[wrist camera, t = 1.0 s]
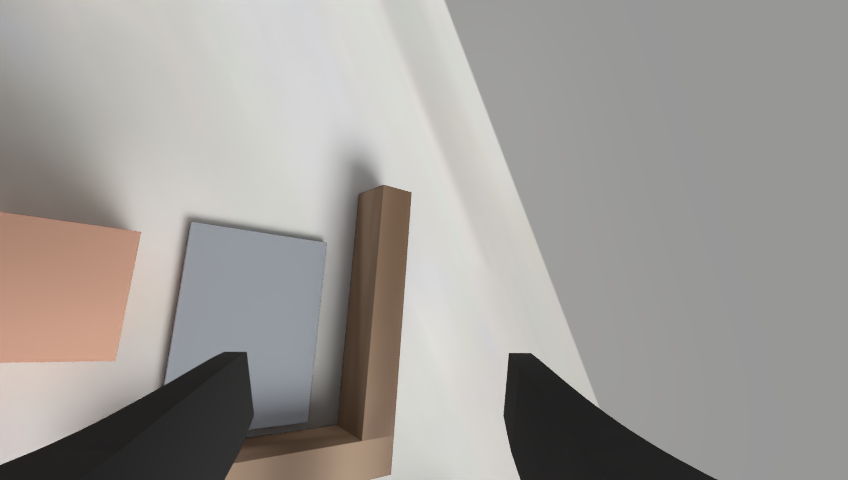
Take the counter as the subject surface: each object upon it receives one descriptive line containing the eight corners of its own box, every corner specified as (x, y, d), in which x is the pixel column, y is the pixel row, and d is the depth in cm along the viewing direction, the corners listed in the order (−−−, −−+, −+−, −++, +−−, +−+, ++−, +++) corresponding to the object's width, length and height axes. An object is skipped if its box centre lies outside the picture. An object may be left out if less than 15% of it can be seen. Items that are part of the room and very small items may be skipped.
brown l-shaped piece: (116, 505, 17) (115, 541, 14) (178, 149, 19) (186, 131, 17) (364, 455, 24) (390, 474, 22) (385, 200, 26) (411, 192, 24)
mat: (154, 439, 18) (155, 442, 17) (190, 222, 19) (191, 221, 19) (304, 420, 22) (307, 422, 22) (324, 243, 24) (326, 242, 23)
